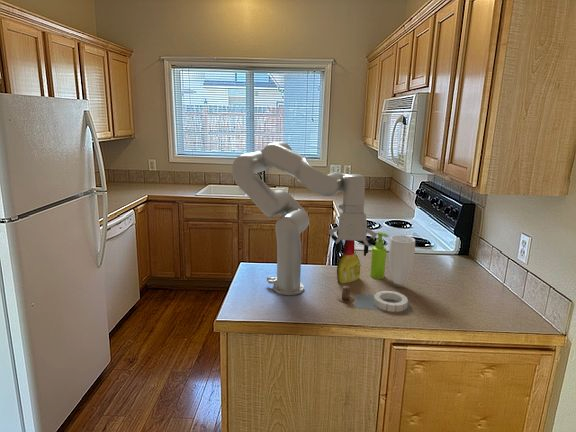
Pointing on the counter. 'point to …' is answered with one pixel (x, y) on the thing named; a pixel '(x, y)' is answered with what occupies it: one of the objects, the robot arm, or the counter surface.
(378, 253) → the soap dispenser
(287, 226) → the robot arm
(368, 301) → the board
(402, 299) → the ring
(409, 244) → the cup
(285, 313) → the counter surface
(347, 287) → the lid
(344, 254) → the bottle
